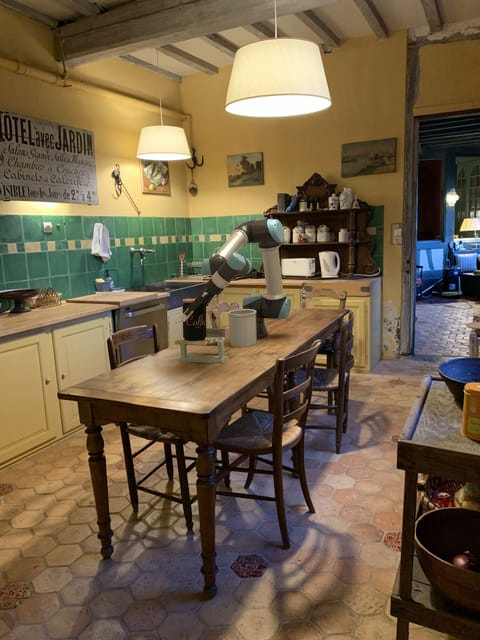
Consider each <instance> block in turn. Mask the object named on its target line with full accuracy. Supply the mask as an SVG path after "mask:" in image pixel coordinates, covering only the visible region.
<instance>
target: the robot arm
mask: <svg viewBox="0 0 480 640" xmlns="http://www.w3.org/2000/svg"><path fill="white" fill-rule="evenodd" d="M284 233H285V231H284V227H283V225H282V223H281V221H280V220H279V219H277V218H276V219H273V218H272V219H271V218H267V219H254V220H247V221H245V222H242V223H241V224H239V225H238V226H236V227H235V228H233V230H232V231H231V233H230V235H229V238H228V239H227V240H226V241H225V243H223V245H221V247H220V248H219V249H218V251H216V253H215V254H214V255H213V256H212V257H211V258H204V259H203V260H202V262H201V271H202V273H203V274H204V275H206V276H211V277H210V278H209V279H208V281H207V282H206V283H205V287H206V288H207V289H204V290H203V291H202V292H201V293H200V294H199V295H198V296H197V297H196V299H195V300H194V301H193V302H192V303H191V304H190V305H188V306H187V307H188V309H187V310H186V311H185V312H184V313H183V312H182V314H181V316H179V318H180V319H181V321H182V322H183V321H184V322H185V321H186V320H187V319H188V317H189V316H190V315H191V314H192V313H193V312H194V310H195V309H196V308H197V307H198V306H199V305H200V304H202V303H203V302H205V301H206V302H205V304H206V307H209V304H210V303H211V301H212V300H213V298H214V297H215V296H219V295H221V294H222V292H223V291H224V289H226V287H229V286H230V283H231V282H232V280H234V279H235V277H237V276H246V275H248V274H250V273H251V271H252V269H253V265H252V262H251V260H250V259H248V258H246V257H243V256H242V255H241V254H240V253H238V252H239V251H240V250H241V249H242V248H244V247H245V246H247V244H248V245H249V244H257V247H258V249H259V250H261V256H262V262H263V263H262V265H263V270H264V271H263V272H264V278H265V279H264V280H265V288H266V294H265V295H263V293H262V294H253V295H248V296H245V297H243V298H242V305H241V306H242V309H253V310H256V340H263V339H266V338H268V336H269V332H268V330H267V326H266V324H265V319H266V320H285V319H288V317H289V316H290V312H291V305H292V299H291V298H290V297H289V296H288V297H287V293H286V292H285V291H284V288H283V281H282V280H283V278H282V269H281V261H280V252H279V248H280V247H281V246H282V242H283V241H284V238H285V237H284V236H285V234H284Z"/></svg>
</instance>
